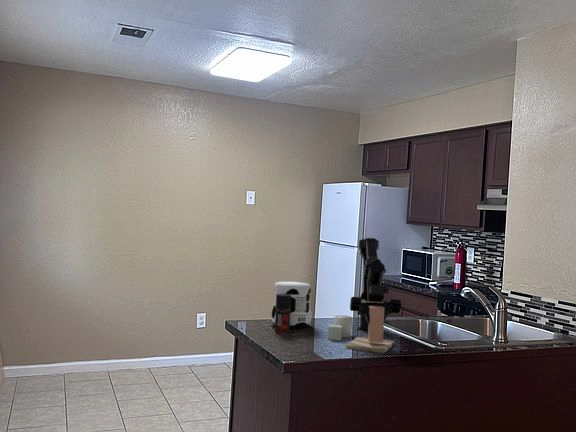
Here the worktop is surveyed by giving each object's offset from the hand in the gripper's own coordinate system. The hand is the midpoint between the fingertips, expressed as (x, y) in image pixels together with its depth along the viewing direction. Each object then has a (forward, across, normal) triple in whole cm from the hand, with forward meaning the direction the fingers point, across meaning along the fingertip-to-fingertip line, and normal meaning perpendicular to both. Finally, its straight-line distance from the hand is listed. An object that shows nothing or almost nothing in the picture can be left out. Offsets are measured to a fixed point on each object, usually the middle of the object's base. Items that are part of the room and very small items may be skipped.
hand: (376, 323), depth 202 cm
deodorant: (-7, -35, +20) cm, 41 cm away
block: (-3, -14, +16) cm, 21 cm away
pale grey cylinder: (-7, -11, +20) cm, 24 cm away
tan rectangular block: (+4, 0, +6) cm, 7 cm away
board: (+4, -2, +8) cm, 10 cm away
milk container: (-17, -32, +30) cm, 47 cm away
